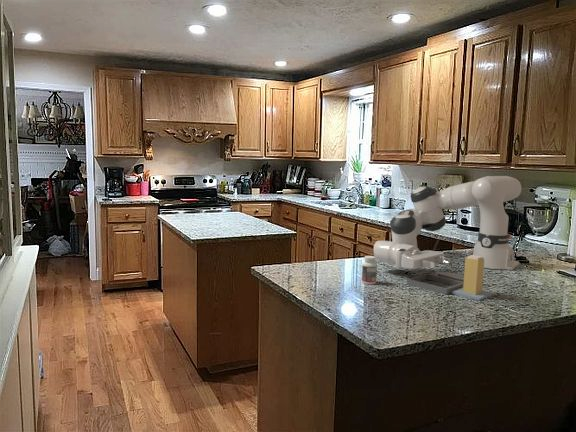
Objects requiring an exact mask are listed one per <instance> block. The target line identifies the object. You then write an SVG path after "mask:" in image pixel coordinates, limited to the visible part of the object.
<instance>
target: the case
mask: <svg viewBox="0 0 576 432" xmlns="http://www.w3.org/2000/svg"><path fill="white" fill-rule="evenodd" d="M424 280H429V281H433V282H437V283H442V284H446V285H450V286H449V287H443V286H439V285H435V284H430V283H427V282H422V281H424ZM406 285H409V286H411V287H412V286H413V287H417V288H419V289H424V290H427V291H431V292H436V293H438V294H443V295H449V294H451V293H452V291H454V290H457V289H460V288H462V287H463V285H464V274H459V273H454V272H449V271H445V270H443V271H435V272H434V274H431V273H424V274H420V275H416V276H412V277H409V278H407V279H406Z"/></svg>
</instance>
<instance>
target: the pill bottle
mask: <svg viewBox="0 0 576 432" xmlns="http://www.w3.org/2000/svg"><path fill="white" fill-rule="evenodd" d="M363 260H364V261H363V262H362V264H361V265H362V266H361V282H362V283H363V284H364V285H375V284H376V283H377V278H378V277H377V275H378V264H377V262H376V258H375V257H374V255H365V256H364V259H363Z"/></svg>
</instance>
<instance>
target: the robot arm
mask: <svg viewBox="0 0 576 432" xmlns="http://www.w3.org/2000/svg"><path fill="white" fill-rule="evenodd" d="M521 193H522V184H521V182H520V181H519V180H518V179H517V178H515V177H512V176H510V175H509V176H508V175H487V176H483V177H480V178H477V179H476V180H473V181H469V182H463V183H460V184H459V183H458V184H454V185H452V186H449V187H446V188H444V189H441V190H440V191H438V189H436V188H432V187H430V186H427V185H426V186H424V185H423V186H419V187H417V188H415V189H414V190H413V191H411V193H410V200H411V203H412V205H413V208H407V209H404V210H403V209H402V210H401V211H399V212H398V214H397V215H394V216H393V217H392V218H391V220H390V221H389V225H390V229H391V239H392V241H391V240H376V241H375V242H374V245H373V250H372V251H373V256H374V257H375V260H378V261H379V262H382V263H386V264H390V265H395V267H396V269H407V270H418V269H422V268H432V269H434V268H437V264H441V263H443V264H444V265H445V264H446V265H448V264H450V263H451V259H450V258H447V257H445V253H444V252H442V251H436V250H429V249H428V250H422V251H421V250H420V249H419V248H418V240H417V237H418V236H419V235H420V233H421V232H422V230H425V231H427V232H435V231H439V230H441V229H442V228H444V227H445V225H446V224H447V220H446V216H445V215H444V212H443V210H460V209H466V208H471V207H478V208H479V214H480V218H479V219H480V220H479V232H478V235H477V242H476V243H475V244H474V247H473V248H474V249H473V254H472V255H476V256H482V257H483V258H484V269H492V270H511V271H513V270H514V269H516V268H517V267H518V266H519V265H520V261H518V260H515V250H514V249H513V248H512V246H511V245H510V244H509V243H510V240H511V238H512V234H510V233H508V230H509V221H510V220H509V218H510V217H509V215H508V214H507V213H506V210H505V208H504V206H505V205H504V202H509V201H513V200H515V199H517V198H518V197H519V196H520V195H521Z"/></svg>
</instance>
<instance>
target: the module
mask: <svg viewBox="0 0 576 432" xmlns="http://www.w3.org/2000/svg"><path fill="white" fill-rule="evenodd" d="M464 263H465V264H464V273H463V276H464V285H463V292H466V293H470V294H474V295H476V294H479V293H482V290H483V283H484V282H483V281H484V280H483V279H484V270H485V268H484V258H483V257H482V256H476V255H473V254H470V255H467V256H466V257H465V261H464Z"/></svg>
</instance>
